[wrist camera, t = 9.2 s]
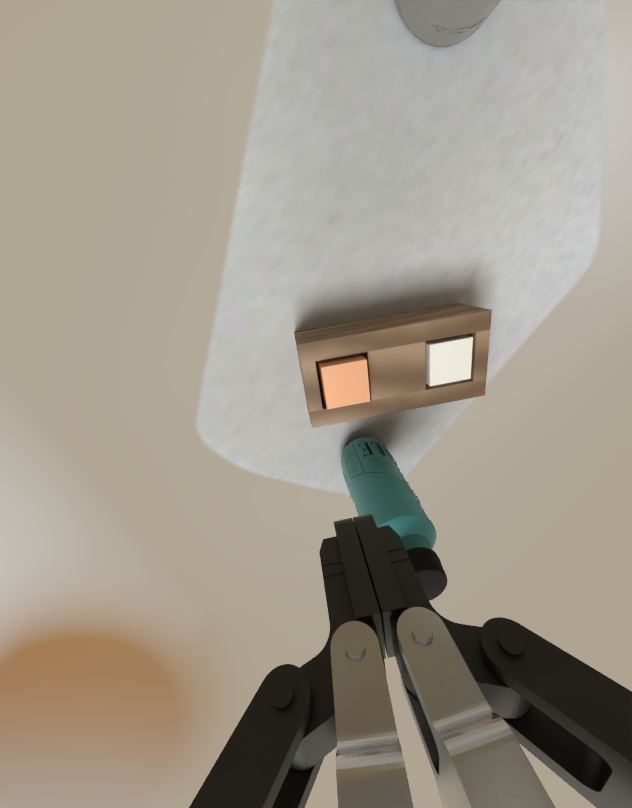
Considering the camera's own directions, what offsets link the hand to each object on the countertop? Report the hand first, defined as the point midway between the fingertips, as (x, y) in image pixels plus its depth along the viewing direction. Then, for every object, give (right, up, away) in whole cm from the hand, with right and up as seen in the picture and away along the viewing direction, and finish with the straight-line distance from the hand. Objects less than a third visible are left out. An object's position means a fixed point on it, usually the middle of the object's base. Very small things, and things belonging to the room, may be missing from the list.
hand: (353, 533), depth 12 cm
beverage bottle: (+5, -1, +30) cm, 30 cm away
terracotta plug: (+1, +9, +23) cm, 24 cm away
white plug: (+12, +11, +24) cm, 29 cm away
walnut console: (+6, +11, +25) cm, 28 cm away
